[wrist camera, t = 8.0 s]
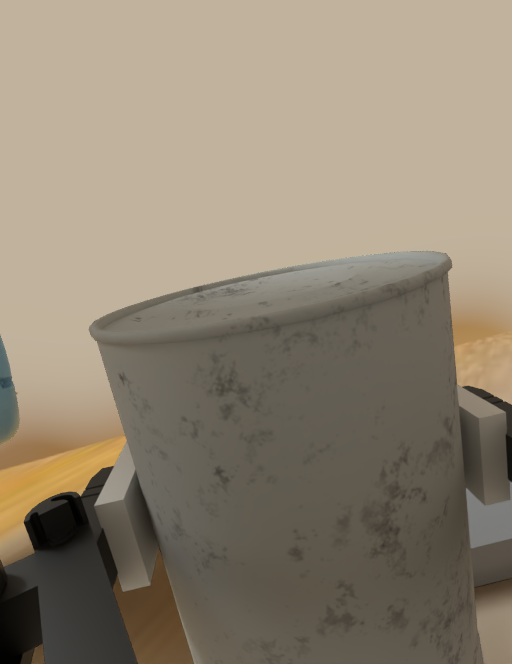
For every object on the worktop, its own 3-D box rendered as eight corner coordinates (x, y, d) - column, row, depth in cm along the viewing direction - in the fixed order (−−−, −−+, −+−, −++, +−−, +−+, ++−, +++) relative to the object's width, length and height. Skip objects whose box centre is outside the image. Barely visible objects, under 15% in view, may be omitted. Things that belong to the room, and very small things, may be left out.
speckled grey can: (416, 511, 18) (385, 248, 15) (571, 808, 8) (563, 259, 6) (218, 537, 19) (155, 293, 16) (162, 831, 9) (-12, 366, 7)
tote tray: (644, 544, 25) (644, 505, 24) (380, 611, 24) (374, 572, 24) (431, 398, 50) (429, 377, 50) (299, 428, 50) (295, 407, 49)
